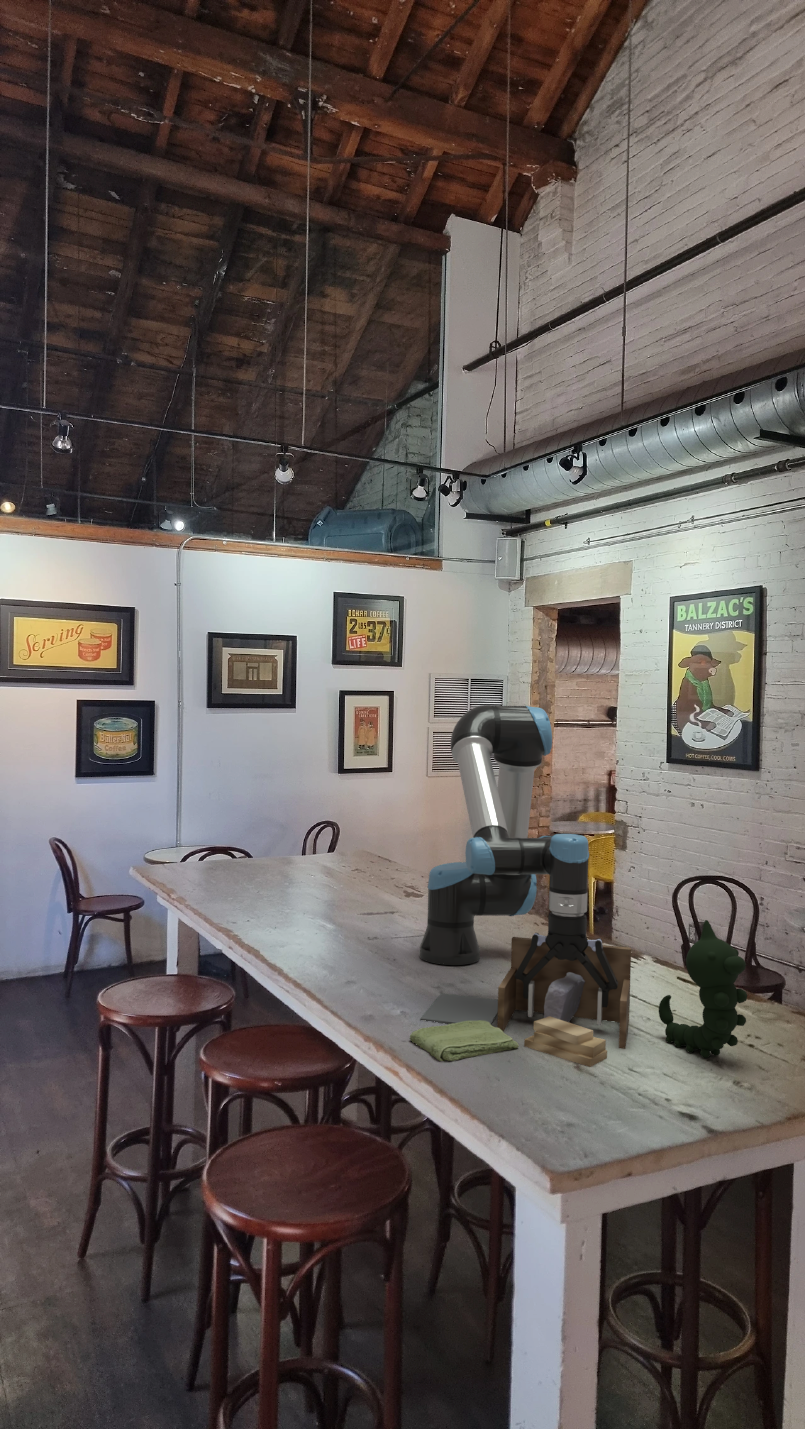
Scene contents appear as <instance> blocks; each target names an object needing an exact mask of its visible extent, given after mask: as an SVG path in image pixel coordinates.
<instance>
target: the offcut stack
mask: <svg viewBox="0 0 805 1429" xmlns="http://www.w3.org/2000/svg"><path fill="white" fill-rule="evenodd" d="M533 1031H534V1032H533V1035H531V1036H528V1037H527V1038H525V1039H524V1040H523V1041H524V1042H523V1043H524V1044H523V1046H524V1047H525V1048H528V1049H532V1050H535V1051H538V1052H542V1053H544V1054H548V1055H551V1056H554V1057H558V1058H561V1059H563V1060H566V1061H570V1062H573V1063H576V1064H579V1065H582V1066H586V1067H589V1068H592V1067H594V1066H595V1065H597V1064H599V1063H600V1062H603V1061H604V1060H606V1059H607V1058H608V1050H607V1048H606V1047H607V1046H606V1043H607V1042H606V1041H607V1040H606V1039H604V1038H601V1037H595V1036H594V1030H593V1029H590V1028H586V1027H584V1026H581V1025H578V1024H574V1023H571V1022H570V1021H569V1022H566V1021H563V1020H560V1019H556V1018H553V1017H550V1016H549V1017H546V1018H544V1017H543V1018H540V1019H537V1020H534V1021H533Z"/></svg>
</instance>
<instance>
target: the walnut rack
mask: <svg viewBox="0 0 805 1429" xmlns="http://www.w3.org/2000/svg"><path fill="white" fill-rule="evenodd" d="M531 941H532V937H518V936H512V937H511V941H510V942H511V957H510V958H511V959H510V969H509V970H508V972H507V973H506V975H505V976H504V978H503V979H502V981H501V982H500V984H499V986H498V988H497V989H498V991H497V995H498V996H497V999H498V1015H497V1021H496V1023H497V1024H496V1025H497V1026H496V1027H497V1028H500V1029H501V1030H502V1031H503V1032H504V1033H505V1030H507V1029H506V1028H507V1026H508V1025H509V1023H510V1021H511V1020H512V1018H513V1015H514V1013H515V1012H516V1011H517V1010H518V1011H525V1012H528V999H525V998H524V997H523V986H524V984H523V982H522V981H521V980H519V979H516V978H515V974H516V972H517V970H518V968H519V966H520V964H521V963H522V961H523V959H524V957H525V955H526V954H527V952H528V950H529V948H530V946H531ZM602 945H603V951H604V953H605V955H606V957H607V959H608V962H609V964H610V966H611V968H612V970H613V972H614V975H615V977H616V979H617V981H618V987H617V989H612V990H610V991H609V993H608V1006H607V1008H606V1007H602V1021H603V1020H607V1021H606V1022H611V1021H615V1022H614V1023H619V1026H618V1027H619V1028H618V1030H619V1031H618V1049H623V1050H626V1048H627V1040H628V1034H629V1033H628V1031H629V1025H630V1008H631V1006H630V1005H631V1004H630V1003H631V1002H630V1001H631V975H632V974H631V971H632V970H631V967H632V966H631V965H632V964H631V963H632V947H629V946H628V947H627V946H626V947H625V946H617V945H604V944H602ZM549 950H550V949H549V947H548V946H547V944H546V942H543V943H542V944H541V946H537V948H536V950H535V952H534V954H533V956H532V957H531V959H530V961H529V963H528V965H527V967H526V968H525V970H524V972H523V973H525V974H527V973H528V972H529V971H530V970H531V969H532V968H533V967H534V966H535V965H536V964H537V963H538V962H539V961H540V960H541V959H542V958H543V957H544V956H545V955H546V953H547V952H548V951H549ZM584 952H585V953H586V955H587V956H588V958H589V959H590V961H591V962H592V963H593V965H594V966H595V967H596V969H597V970H598V971H599V972H600V974H601V975H602V976H603V978H604V979H605V980H606V982H609V981H608V979H607V977H606V974H605V972H604V970H603V968H602V966H601V964H600V961H599V959H598V957H597V954H596V951H593V950H592V948H591V947H590V946H588V947H587V948H586V949H585V951H584ZM568 972H571V973H574V974H577V975H580V976H581V977H583V980H584V981H585V983H584V986H583V991H582V995H581V998H580V1003H579V1007H578V1009H577V1012H576V1013H575V1014H574V1018H581V1019H587V1018H588V1020H589V1019H590V1020H596V1021H597V1009H598V990H599V988H600V987H599V985H598V984H597V983H596V981H595V980H594V979H593V978H592V976H591V975H590V974H589V972H588V971H587V970H586V968H585V967H584V966H583V965H582V964H581V963H580V962H579V960H578V959H577V960H574V961H569V960H567V959H564V960H558V959H557V958H556V957H555V956H554V957H553V958H552V959H551V960H550V961H549V962H548V963H547V964H546V965H545V966H544V967H543V968H542V969H541V970H540V971H539V972H538V973H537V974H536V975H535V976H534V977H533V978H532V980H531V981H534V1013H540V1014H544V1005H545V997H546V994H547V992H548V988H549V986H550V985H551V983H552V982H554V981H555V980H557V979H561V978H565V976H566V974H567V973H568Z"/></svg>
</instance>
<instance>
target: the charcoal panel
mask: <svg viewBox="0 0 805 1429" xmlns="http://www.w3.org/2000/svg"><path fill="white" fill-rule="evenodd" d="M497 1017H498V998H493V997H492V998H490V997H481V996H472V995H464V994H455V993H454V994H453V993H448V992H447V993H446V992H445V993H444V992H441V993H440V994H439V995H438V997H437V998H436V999H435V1000H434V1001H433V1002H432V1004H431V1005H430V1006H429V1007H428V1008H427V1009H426V1011H425V1012H424V1013H423V1014H422V1015H421V1017H420V1019H419V1021H421V1020H426V1021H425V1022H428V1021H435V1022H434V1023H436V1022H438V1023H437V1024H443V1023H445V1024H446V1025H448V1024H452V1023H453V1024H454V1023H459V1022H463V1021H478V1020H481V1021H483V1020H484V1021H486V1022H489V1023H490V1024H491V1025H492V1026H493V1023H494V1022H495V1019H496V1018H497Z"/></svg>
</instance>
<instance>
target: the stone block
mask: <svg viewBox="0 0 805 1429" xmlns="http://www.w3.org/2000/svg"><path fill="white" fill-rule="evenodd" d="M584 983H585V981H584V980H583V977H581V976H580V975H577V974H574V973H571V972H568V973H567V974H566V976H565V978H561V979H557V980H555V981H554V982H552V983H551V985H550V986H549V988H548V992H547V994H546V997H545V1005H544V1013H543V1018H546V1017H549V1016H550V1017H553V1018H556V1019H560V1020H563V1021H566V1022H569V1023H570V1021H571V1020H572V1018H573V1016H574V1014H575V1013H576V1012H577V1009H578V1007H579V1003H580V998H581V995H582V991H583V986H584Z"/></svg>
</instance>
